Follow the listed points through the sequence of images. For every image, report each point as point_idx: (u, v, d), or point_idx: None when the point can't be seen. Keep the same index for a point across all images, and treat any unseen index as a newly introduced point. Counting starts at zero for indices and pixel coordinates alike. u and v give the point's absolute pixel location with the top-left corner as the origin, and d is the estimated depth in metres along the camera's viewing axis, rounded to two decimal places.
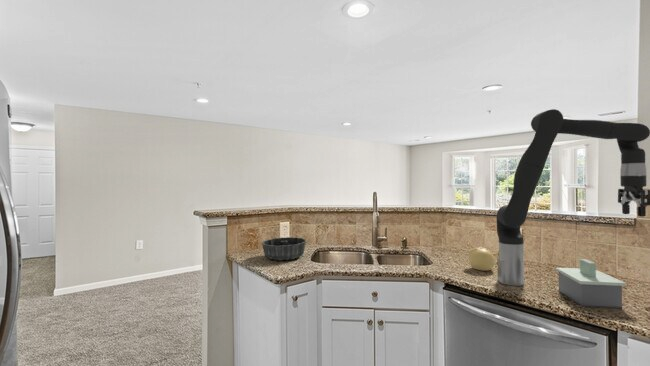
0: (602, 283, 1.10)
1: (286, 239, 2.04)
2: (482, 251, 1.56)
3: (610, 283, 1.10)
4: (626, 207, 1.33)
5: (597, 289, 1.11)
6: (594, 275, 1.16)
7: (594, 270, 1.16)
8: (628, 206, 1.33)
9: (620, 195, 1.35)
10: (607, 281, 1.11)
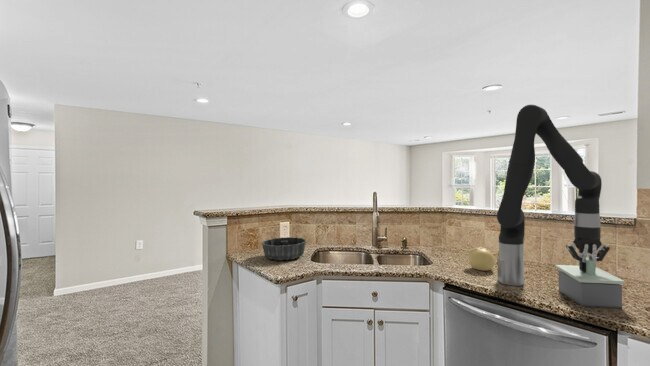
0: (601, 281, 1.10)
1: (286, 239, 2.04)
2: (482, 251, 1.56)
3: (609, 281, 1.10)
4: None
5: (597, 289, 1.11)
6: (594, 273, 1.16)
7: (594, 268, 1.16)
8: None
9: (575, 251, 1.18)
10: (607, 279, 1.11)
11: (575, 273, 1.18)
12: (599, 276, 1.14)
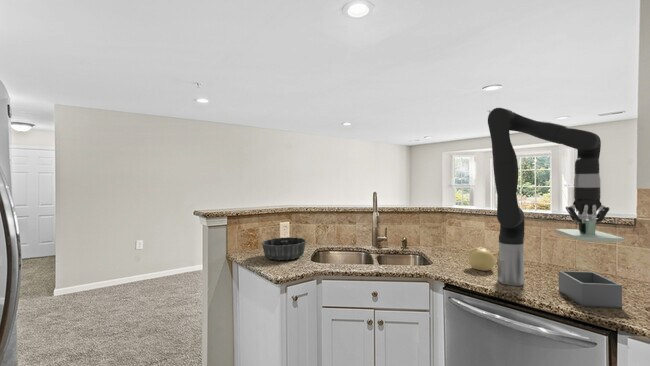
0: (601, 239, 1.10)
1: (286, 239, 2.04)
2: (482, 251, 1.56)
3: (609, 239, 1.10)
4: None
5: (597, 289, 1.11)
6: (593, 233, 1.15)
7: (593, 228, 1.15)
8: None
9: (575, 213, 1.18)
10: (606, 237, 1.11)
11: (575, 233, 1.18)
12: (599, 235, 1.14)
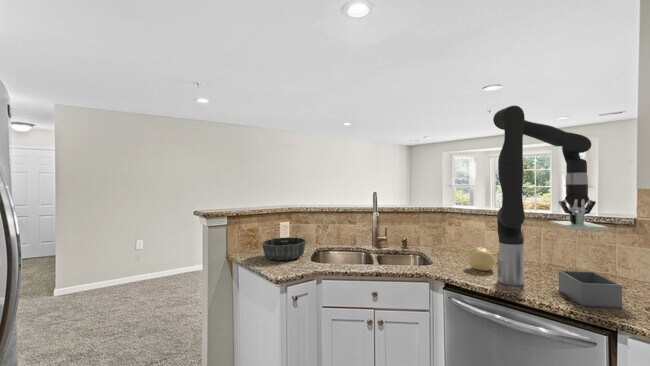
0: (588, 228, 1.30)
1: (286, 239, 2.04)
2: (482, 251, 1.56)
3: (595, 227, 1.29)
4: None
5: (597, 289, 1.11)
6: (582, 223, 1.35)
7: (582, 219, 1.35)
8: None
9: (566, 206, 1.38)
10: (593, 226, 1.30)
11: (566, 224, 1.38)
12: (587, 225, 1.34)
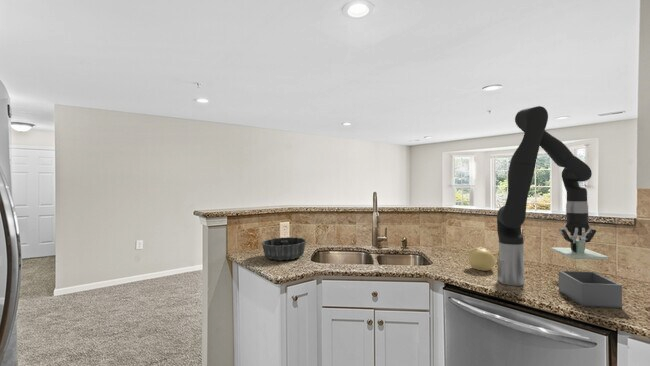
0: (589, 257, 1.30)
1: (286, 239, 2.04)
2: (482, 251, 1.56)
3: (596, 257, 1.29)
4: None
5: (597, 289, 1.11)
6: (583, 251, 1.35)
7: (583, 247, 1.35)
8: None
9: None
10: (593, 256, 1.30)
11: (567, 252, 1.38)
12: (587, 254, 1.34)
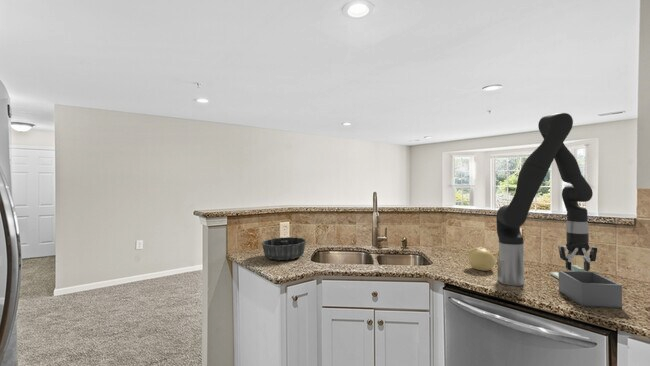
0: None
1: (286, 239, 2.04)
2: (482, 251, 1.56)
3: None
4: None
5: (597, 289, 1.11)
6: None
7: None
8: None
9: (564, 252, 1.39)
10: None
11: None
12: None
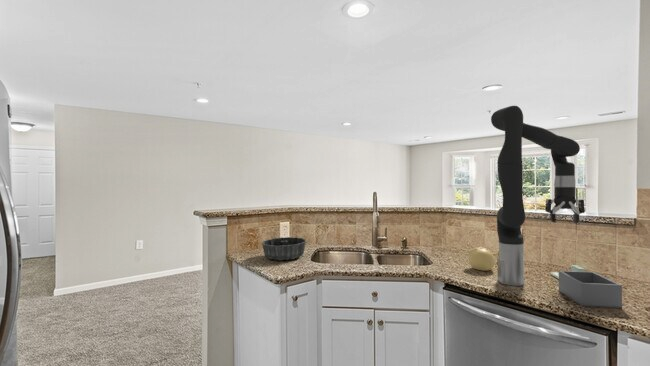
0: None
1: (286, 239, 2.04)
2: (482, 251, 1.56)
3: None
4: None
5: (597, 289, 1.11)
6: None
7: None
8: None
9: (550, 205, 1.43)
10: None
11: None
12: None
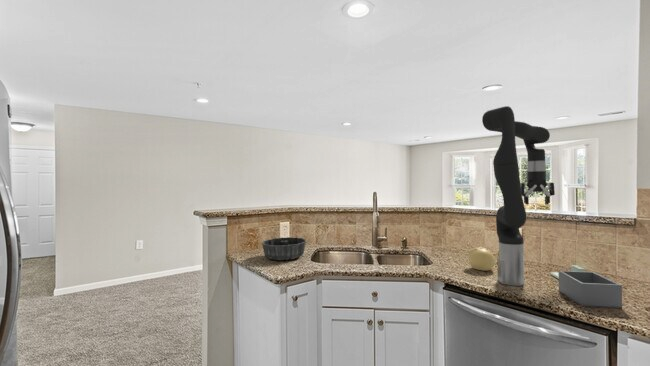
0: None
1: (286, 239, 2.04)
2: (482, 251, 1.56)
3: None
4: None
5: (597, 289, 1.11)
6: None
7: None
8: None
9: (523, 188, 1.54)
10: None
11: None
12: None
